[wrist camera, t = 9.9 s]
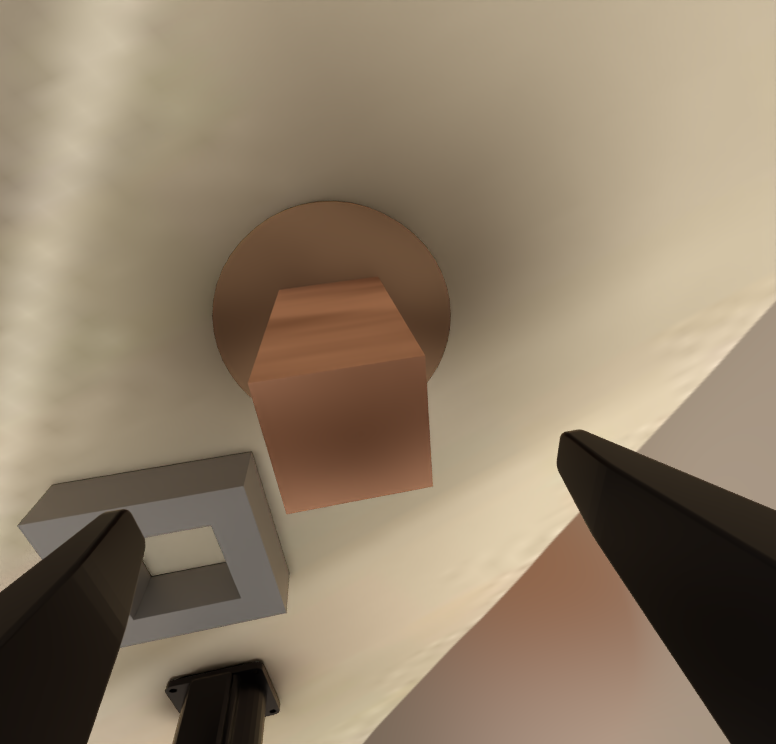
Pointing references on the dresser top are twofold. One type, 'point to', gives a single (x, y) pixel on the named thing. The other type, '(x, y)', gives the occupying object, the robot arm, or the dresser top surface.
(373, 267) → the pad
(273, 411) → the block
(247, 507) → the collar
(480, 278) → the dresser top surface
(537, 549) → the dresser top surface
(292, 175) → the dresser top surface
